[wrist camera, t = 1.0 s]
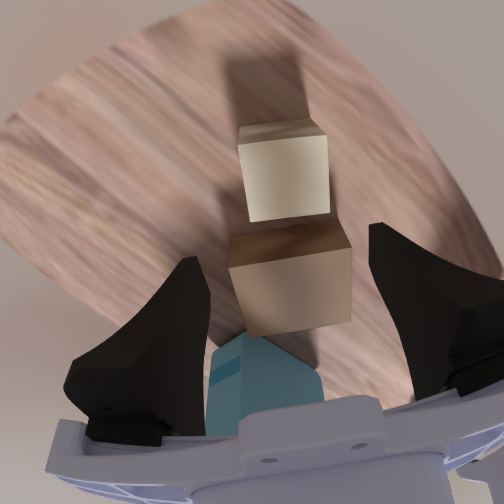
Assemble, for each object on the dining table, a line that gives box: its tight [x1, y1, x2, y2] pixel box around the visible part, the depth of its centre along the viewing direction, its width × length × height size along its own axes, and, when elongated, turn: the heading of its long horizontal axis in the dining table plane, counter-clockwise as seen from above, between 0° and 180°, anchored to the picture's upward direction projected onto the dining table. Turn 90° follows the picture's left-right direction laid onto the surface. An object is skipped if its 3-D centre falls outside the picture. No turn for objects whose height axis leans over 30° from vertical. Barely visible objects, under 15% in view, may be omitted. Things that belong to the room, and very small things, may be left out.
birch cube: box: [238, 118, 330, 222], centre depth 18 cm, size 4×4×4 cm
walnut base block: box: [228, 219, 352, 338], centre depth 24 cm, size 8×7×4 cm
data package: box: [205, 331, 324, 436], centre depth 27 cm, size 12×4×12 cm, turn 45°
